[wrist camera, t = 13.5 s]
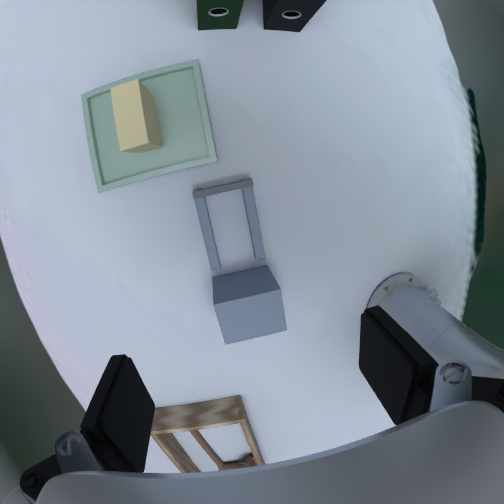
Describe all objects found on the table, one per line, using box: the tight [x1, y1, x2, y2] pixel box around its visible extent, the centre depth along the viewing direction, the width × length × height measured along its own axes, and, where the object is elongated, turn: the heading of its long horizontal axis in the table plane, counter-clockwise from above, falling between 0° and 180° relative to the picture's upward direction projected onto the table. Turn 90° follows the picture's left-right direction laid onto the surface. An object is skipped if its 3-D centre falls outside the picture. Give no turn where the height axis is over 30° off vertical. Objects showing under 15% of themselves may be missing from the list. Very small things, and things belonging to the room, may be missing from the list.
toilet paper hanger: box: [190, 430, 258, 471], centre depth 52 cm, size 25×9×8 cm, turn 16°
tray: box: [81, 60, 217, 193], centre depth 32 cm, size 16×14×2 cm
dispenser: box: [193, 178, 287, 345], centre depth 36 cm, size 8×18×8 cm, turn 10°
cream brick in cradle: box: [110, 79, 163, 153], centre depth 28 cm, size 3×7×9 cm, turn 10°
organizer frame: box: [150, 395, 265, 473], centre depth 50 cm, size 18×34×6 cm, turn 10°
